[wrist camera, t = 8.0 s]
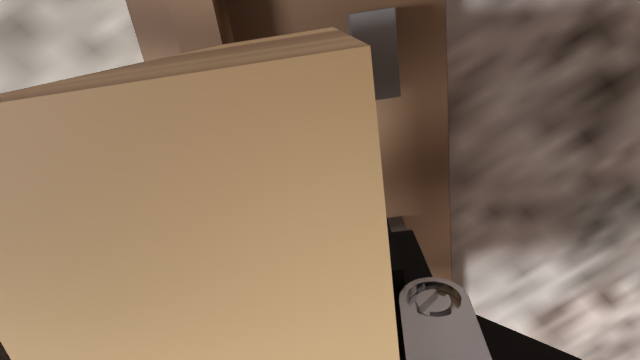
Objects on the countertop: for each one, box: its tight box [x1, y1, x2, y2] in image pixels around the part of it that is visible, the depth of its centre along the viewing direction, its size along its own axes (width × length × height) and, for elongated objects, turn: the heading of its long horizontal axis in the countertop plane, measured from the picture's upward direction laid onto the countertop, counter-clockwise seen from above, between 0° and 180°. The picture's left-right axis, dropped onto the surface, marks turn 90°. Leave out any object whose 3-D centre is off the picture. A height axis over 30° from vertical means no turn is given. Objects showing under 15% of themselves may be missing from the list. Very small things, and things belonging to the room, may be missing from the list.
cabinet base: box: [126, 0, 452, 281], centre depth 17 cm, size 18×12×3 cm, turn 8°
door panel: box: [0, 27, 400, 360], centre depth 9 cm, size 12×4×9 cm, turn 8°
